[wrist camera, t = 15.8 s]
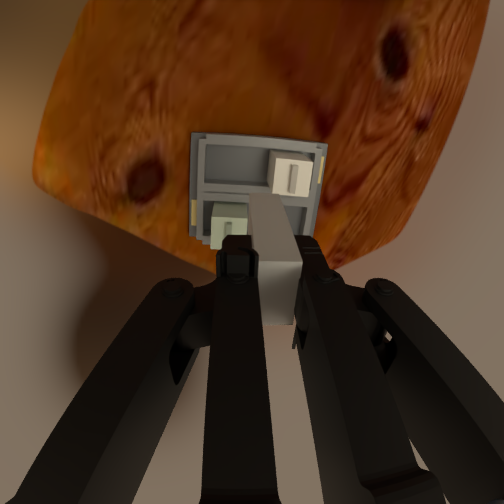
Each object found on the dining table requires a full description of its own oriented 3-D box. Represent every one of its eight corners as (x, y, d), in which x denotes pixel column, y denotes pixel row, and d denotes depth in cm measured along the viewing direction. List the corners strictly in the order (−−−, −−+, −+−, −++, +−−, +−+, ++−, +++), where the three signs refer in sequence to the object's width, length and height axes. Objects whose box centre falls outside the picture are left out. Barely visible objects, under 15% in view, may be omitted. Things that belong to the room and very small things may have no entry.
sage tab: (214, 199, 38) (210, 219, 32) (245, 201, 38) (248, 221, 33) (213, 227, 40) (210, 252, 34) (243, 229, 40) (245, 253, 34)
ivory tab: (269, 149, 35) (277, 159, 29) (301, 152, 36) (315, 163, 30) (266, 180, 37) (273, 196, 31) (297, 182, 38) (309, 199, 32)
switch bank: (192, 131, 35) (189, 133, 32) (325, 142, 36) (332, 145, 34) (190, 233, 42) (187, 243, 39) (309, 240, 43) (314, 250, 40)
